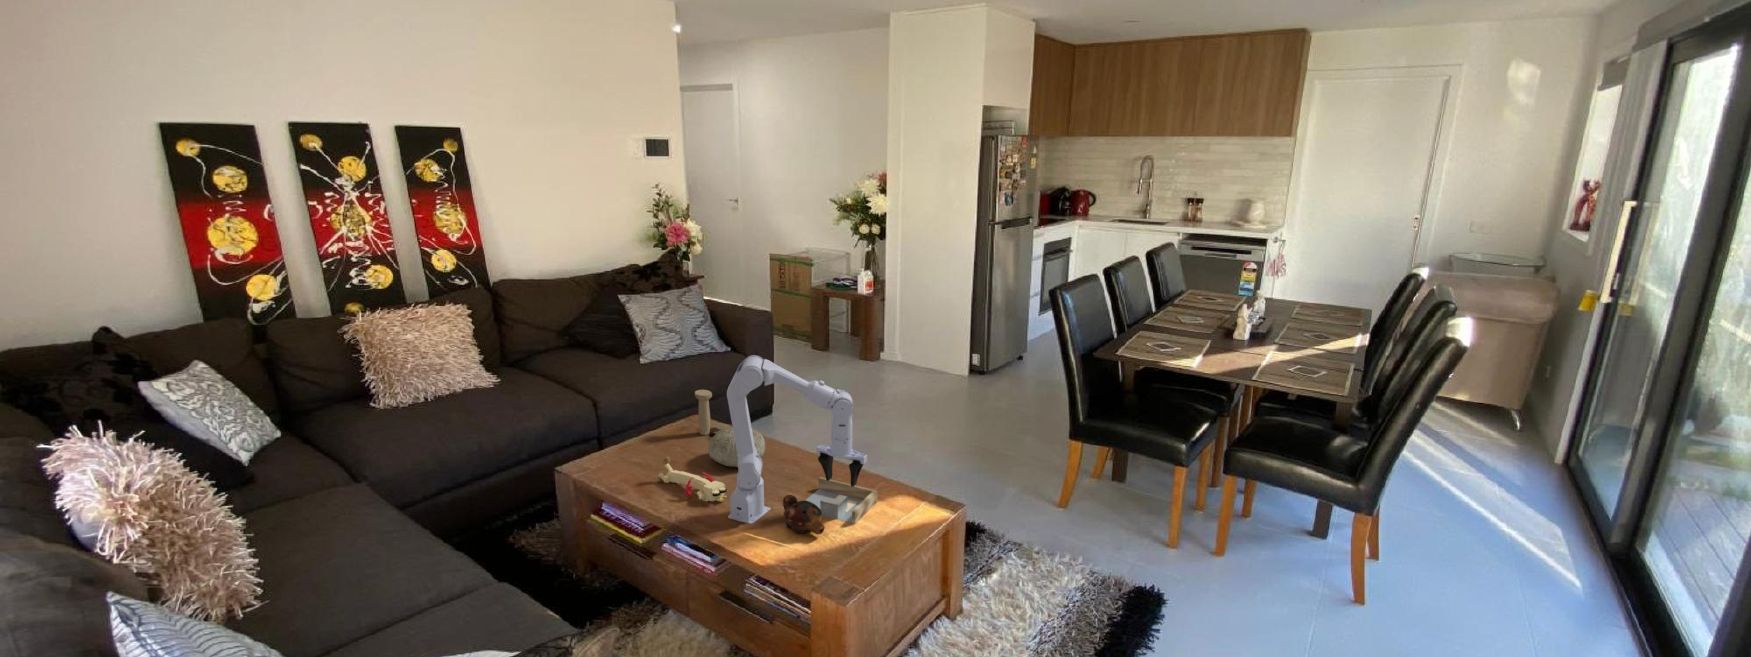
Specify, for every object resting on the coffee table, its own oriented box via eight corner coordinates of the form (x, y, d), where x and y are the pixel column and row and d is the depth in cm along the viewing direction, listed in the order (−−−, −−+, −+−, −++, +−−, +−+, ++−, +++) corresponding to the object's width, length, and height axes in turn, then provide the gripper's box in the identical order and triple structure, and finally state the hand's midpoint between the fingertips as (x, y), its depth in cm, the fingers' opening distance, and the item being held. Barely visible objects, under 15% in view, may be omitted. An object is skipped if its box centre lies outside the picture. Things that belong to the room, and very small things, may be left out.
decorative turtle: (794, 513, 209) (796, 486, 207) (835, 535, 200) (837, 508, 198) (768, 525, 201) (770, 497, 199) (809, 548, 193) (812, 520, 190)
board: (851, 524, 203) (851, 523, 203) (795, 509, 211) (795, 508, 210) (872, 504, 215) (872, 502, 214) (818, 490, 222) (818, 489, 222)
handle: (704, 438, 256) (702, 396, 252) (693, 432, 260) (691, 391, 256) (716, 434, 259) (714, 393, 256) (705, 429, 264) (704, 388, 260)
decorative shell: (698, 467, 235) (696, 437, 232) (725, 445, 251) (724, 417, 249) (750, 476, 230) (749, 446, 227) (774, 453, 246) (774, 424, 244)
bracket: (838, 518, 205) (838, 505, 204) (820, 514, 208) (820, 500, 207) (847, 509, 210) (847, 496, 209) (830, 505, 213) (830, 492, 211)
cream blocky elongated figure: (652, 489, 223) (711, 508, 209) (649, 461, 221) (708, 478, 207) (678, 477, 231) (737, 494, 217) (675, 450, 229) (734, 466, 215)
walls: (855, 525, 203) (855, 512, 202) (795, 509, 211) (795, 496, 209) (877, 503, 215) (877, 490, 214) (820, 489, 223) (820, 476, 222)
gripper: (872, 435, 205) (871, 481, 208) (825, 426, 211) (825, 470, 214) (860, 445, 199) (860, 492, 202) (812, 435, 204) (812, 481, 208)
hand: (841, 482), depth 208 cm, fingers open, 7 cm apart
